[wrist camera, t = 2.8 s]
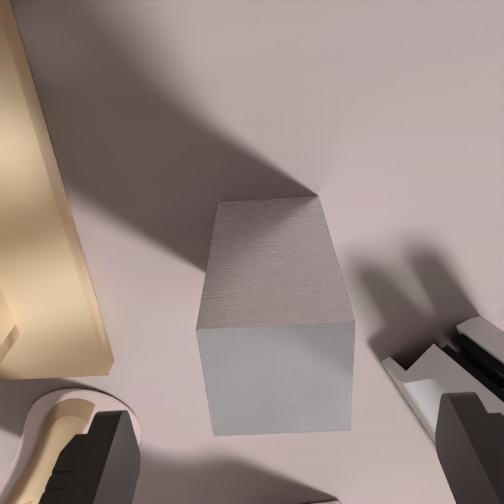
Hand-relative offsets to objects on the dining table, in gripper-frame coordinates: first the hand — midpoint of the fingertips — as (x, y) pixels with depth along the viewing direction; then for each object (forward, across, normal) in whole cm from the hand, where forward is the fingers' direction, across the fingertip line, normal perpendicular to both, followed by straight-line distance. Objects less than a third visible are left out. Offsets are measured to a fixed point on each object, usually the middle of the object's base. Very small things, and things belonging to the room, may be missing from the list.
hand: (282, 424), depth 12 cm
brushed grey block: (+9, 0, -1) cm, 9 cm away
